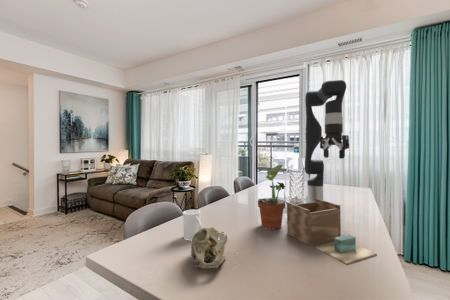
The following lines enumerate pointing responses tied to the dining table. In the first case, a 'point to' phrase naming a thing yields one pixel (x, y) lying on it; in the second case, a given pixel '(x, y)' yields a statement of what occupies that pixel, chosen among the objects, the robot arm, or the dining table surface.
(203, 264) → the skull
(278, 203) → the potted plant
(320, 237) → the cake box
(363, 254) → the lid
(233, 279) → the dining table surface
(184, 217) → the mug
